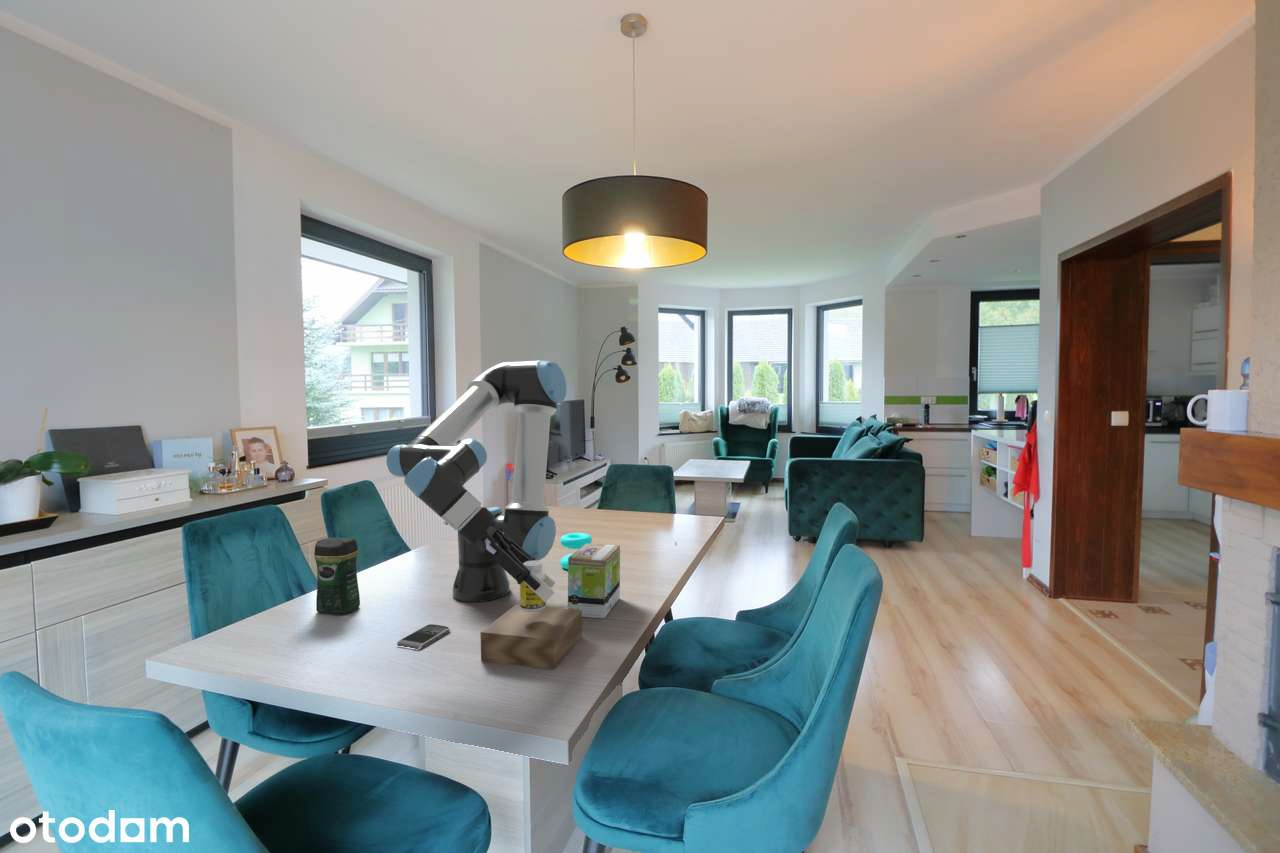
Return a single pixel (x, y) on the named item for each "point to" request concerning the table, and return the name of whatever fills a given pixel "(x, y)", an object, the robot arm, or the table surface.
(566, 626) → the walnut block
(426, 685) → the table surface
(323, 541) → the coffee jar
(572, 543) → the donuts
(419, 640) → the cell phone
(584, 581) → the tea box
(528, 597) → the supplement bottle
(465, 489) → the robot arm
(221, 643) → the table surface
